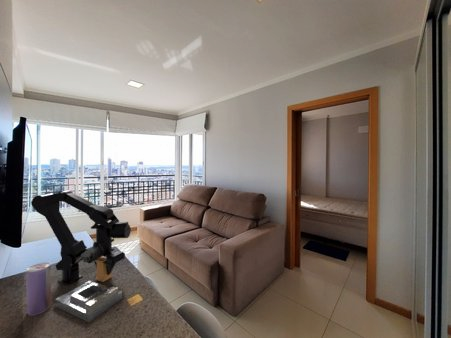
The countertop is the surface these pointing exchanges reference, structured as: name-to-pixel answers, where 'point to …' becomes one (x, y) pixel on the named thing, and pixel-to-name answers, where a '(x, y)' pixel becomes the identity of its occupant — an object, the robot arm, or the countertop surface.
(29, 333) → the countertop surface
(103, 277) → the wedge pin
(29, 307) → the beverage can
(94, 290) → the grey socket base
